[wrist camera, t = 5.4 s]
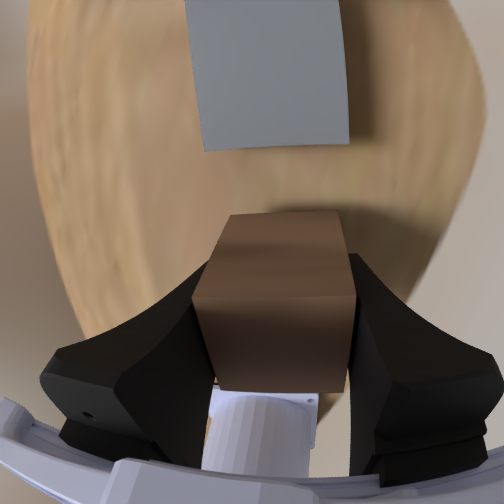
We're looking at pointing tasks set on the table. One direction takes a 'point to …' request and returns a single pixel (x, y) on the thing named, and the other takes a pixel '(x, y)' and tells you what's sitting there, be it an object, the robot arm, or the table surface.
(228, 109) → the slate block
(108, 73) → the table surface
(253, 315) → the walnut cube
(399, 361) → the robot arm
